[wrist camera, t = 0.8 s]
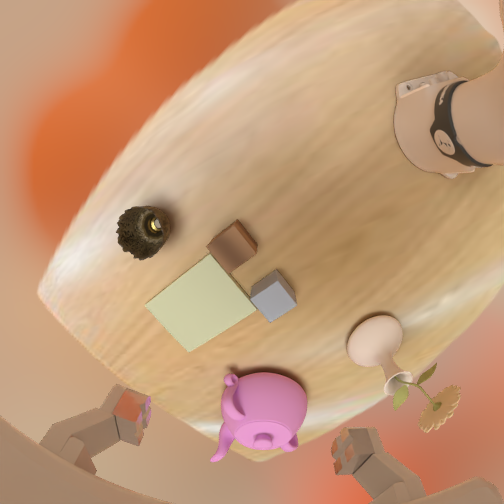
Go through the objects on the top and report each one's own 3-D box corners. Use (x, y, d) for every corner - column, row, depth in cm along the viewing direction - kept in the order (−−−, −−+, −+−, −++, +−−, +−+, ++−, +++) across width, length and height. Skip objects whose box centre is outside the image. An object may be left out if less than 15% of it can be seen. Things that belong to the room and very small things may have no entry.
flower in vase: (358, 369, 49) (395, 468, 25) (334, 333, 47) (373, 443, 23) (412, 334, 47) (472, 419, 23) (394, 294, 44) (469, 382, 20)
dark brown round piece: (131, 228, 43) (107, 239, 36) (152, 191, 42) (130, 196, 34) (165, 254, 44) (146, 270, 37) (188, 218, 42) (172, 228, 35)
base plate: (211, 251, 44) (210, 253, 43) (257, 306, 46) (257, 309, 45) (147, 302, 47) (144, 305, 46) (190, 348, 49) (188, 352, 48)
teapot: (184, 390, 53) (167, 437, 40) (261, 342, 48) (259, 395, 35) (252, 437, 57) (248, 481, 44) (326, 400, 52) (337, 449, 39)
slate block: (276, 268, 44) (277, 280, 39) (294, 291, 45) (297, 305, 40) (251, 286, 45) (250, 299, 40) (269, 307, 46) (270, 322, 41)
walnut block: (237, 219, 42) (233, 225, 37) (257, 244, 43) (256, 253, 38) (212, 238, 43) (206, 246, 38) (232, 262, 44) (228, 273, 39)
